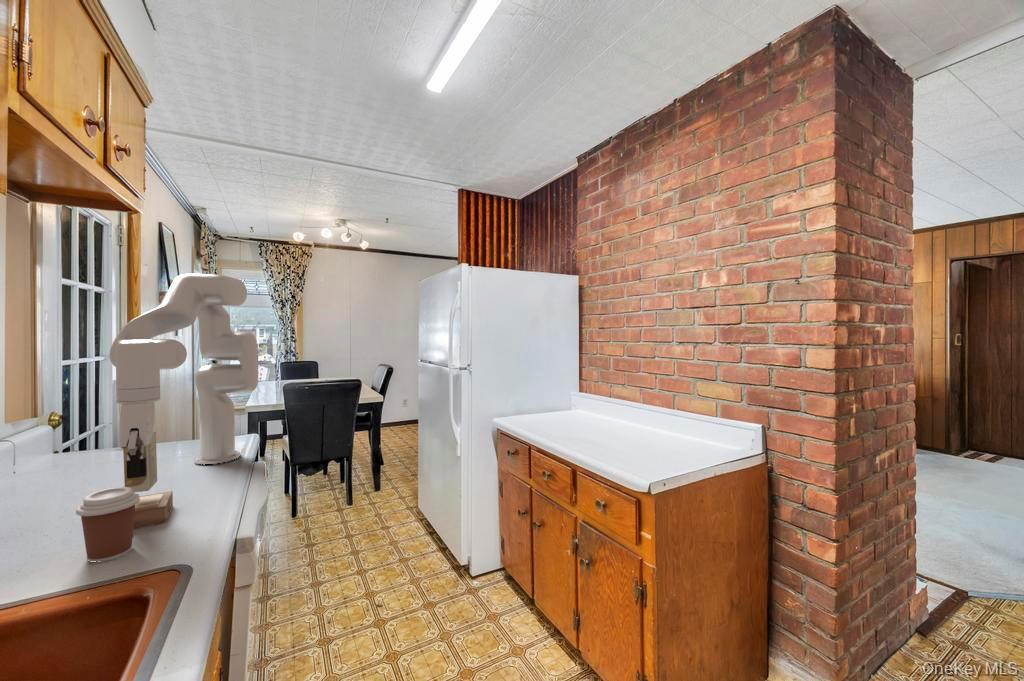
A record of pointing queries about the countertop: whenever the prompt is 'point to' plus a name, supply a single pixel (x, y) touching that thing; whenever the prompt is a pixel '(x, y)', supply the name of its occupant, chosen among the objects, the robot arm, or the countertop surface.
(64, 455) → the countertop surface
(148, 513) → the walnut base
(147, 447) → the skincare box
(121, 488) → the coffee cup
